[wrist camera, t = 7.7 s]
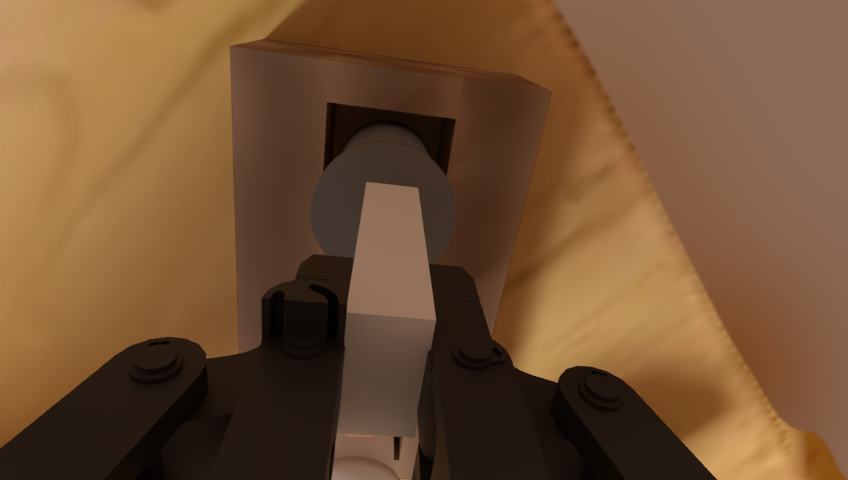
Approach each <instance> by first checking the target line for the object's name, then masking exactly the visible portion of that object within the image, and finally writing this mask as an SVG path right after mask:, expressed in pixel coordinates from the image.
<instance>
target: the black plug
mask: <svg viewBox="0 0 848 480" xmlns="http://www.w3.org/2000/svg"><path fill="white" fill-rule="evenodd" d="M366 182H373V183H381V184H390V185H399V186H407V187H416V188H418V191H419V198H420V205H421V213H422V220H423V227H424V235H425V242H426V249H427V256H428V264H433V263H435V262H436V261H437V260H438V259H439V258H440V257H441V255H442V254H443V253H444V251H445V250H446V248H447V247H448V245H449V243H450V241H451V239H452V236H453V233H454V230H455V225H456V205H455V200H454V197H453V193H452V190H451V187H450V184H449V182H448V180H447V178H446V176H445V174H444V173H443V171H442V170H441V168H440V167H439V166H438V165H437V164H436V162H435V161H434V160H433V159H431V158H430V155H429V152H428V149H427V146H426V144H425V142H424V141H423V139H422V138H421V136H420V135H419V134H418V133H417V132H416V131H415V130H414V129H412V128H411V127H409V126H408V125H406V124H404V123H401V122H398V121H394V120H376V121H372V122H369V123H367V124H365V125H363V126H361V127H360V128H358V129H357V130H356V131H355V132H354V133H353V134H352V135H351V136H350V137H349V139H348V140H347V142H346V144H345V146H344V149H343V152H342V153H341V154H340V155H338V156H337V157H336V158H335V159H334V160H333V161H332V162H331V163H330V164H329V165H328V166H327V168H326V169H325V171H324V172H323V174H322V175H321V177H320V180H319V182H318V184H317V187H316V189H315V191H314V194H313V198H312V201H311V209H310V217H311V225H312V230H313V233H314V236H315V238H316V240H317V242H318V244H319V246H320V248H321V249H322V251H323V252H324V253H325V254H326V255H329V256H340V257H350V258H354V257H355V251H356V245H357V238H358V232H359V226H360V219H361V213H362V207H363V201H364V194H365V188H366Z"/></svg>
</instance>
